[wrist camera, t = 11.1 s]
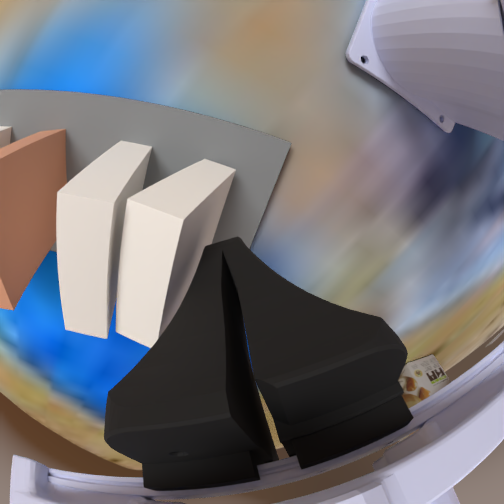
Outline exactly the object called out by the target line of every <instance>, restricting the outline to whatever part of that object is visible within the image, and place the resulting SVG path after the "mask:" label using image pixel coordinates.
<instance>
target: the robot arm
mask: <svg viewBox="0 0 504 504" xmlns="http://www.w3.org/2000/svg"><path fill="white" fill-rule="evenodd" d="M361 57H363V58H364V59H365V63H364V64H363V63H362V62H361ZM346 58H347V59H348V61H349V62H350V63H352V64H354V65H355V66H357V67H359V68H360V69H362V70H364V71H365V72H367V73H368V74H370V75H371V76H373V77H375V78H376V79H378V80H379V81H381V82H382V83H384V84H385V85H386V86H388V87H389V88H391V89H392V90H394V91H395V92H396V93H398V94H399V95H400V96H402V97H403V98H404V99H406V100H407V101H408V102H410V103H411V104H412V105H414V106H415V107H416V108H417V109H419V110H420V111H421V112H422V113H424V114H425V115H426V116H427V117H428V118H429V119H431V120H432V121H433V122H434V123H435V124H436V125H438V126H439V127H440V128H441V129H442V130H443V131H445V132H447V133H450V132H451V131H452V130H453V127H454V124H455V123H458V124H461V125H464V126H467V127H470V128H473V129H475V130H478V131H481V132H483V133H486V134H488V135H491V136H493V137H496V138H498V139H500V140H503V141H504V0H366V2H365V4H364V7H363V10H362V12H361V15H360V17H359V20H358V23H357V25H356V28H355V30H354V33H353V35H352V38H351V40H350V43H349V45H348V48H347V51H346ZM243 319H244V320H243ZM244 323H245V327H244ZM245 329H246V334H247V339H248V344H249V350H250V356H251V362H252V367H253V371H252V367H251V363H250V358H249V354H248V347H247V340H246V334H245ZM407 354H408V353H407V350H406V347H405V346H404V344H403V343H402V341H401V340H400V338H399V337H398V336H397V334H396V333H395V332H394V331H393V330H392V329H391V328H390V327H389V326H388V324H387V323H386V322H385V321H384V320H383V319H382V318H381V317H377V316H373V315H369V314H365V313H361V312H357V311H354V310H350V309H347V308H344V307H341V306H338V305H336V304H333V303H330V302H328V301H326V300H323V299H321V298H319V297H317V296H314V295H312V294H310V293H308V292H306V291H304V290H303V289H301V288H299V287H297V286H296V285H294V284H292V283H291V282H289V281H287V280H286V279H284V278H283V277H281V276H280V275H279V274H277V273H276V272H275V271H273V270H272V269H271V268H269V267H268V266H267V265H266V264H265V263H263V262H262V261H261V260H260V259H259V258H258V257H257V256H256V255H255V254H254V253H253V252H252V251H251V250H250V249H249V248H248V247H247V246H246V245H245V243H244V242H243V241H242V239H241V238H240V237H238V236H237V237H234V238H230V239H227V240H224V241H220V242H217V243H214V244H210V245H207V246H205V248H204V249H203V253H202V256H201V259H200V262H199V264H198V267H197V270H196V272H195V275H194V277H193V279H192V282H191V284H190V286H189V288H188V291H187V293H186V295H185V297H184V299H183V301H182V303H181V305H180V306H179V308H178V310H177V312H176V314H175V315H174V317H173V318H172V320H171V322H170V323H169V325H168V326H167V328H166V329H165V330H164V332H163V333H162V334H161V336H160V337H159V338H158V340H157V341H156V343H155V344H154V345H153V346H152V348H151V349H150V350H149V351H148V352H147V354H146V355H145V356H144V357H143V358H142V359H141V360H140V362H139V363H138V364H137V365H136V366H135V367H134V368H133V369H132V370H131V371H130V372H129V373H128V374H127V375H126V376H125V377H124V378H123V379H122V380H121V381H120V382H119V383H118V384H117V385H115V386H114V387H113V388H112V389H111V390H110V391H109V392H108V397H107V403H106V414H105V430H104V440H105V441H106V443H107V444H108V445H109V446H110V447H111V448H112V449H114V450H116V451H117V452H119V453H121V454H123V455H125V456H127V457H129V458H131V459H133V460H136V461H138V462H140V463H142V469H143V478H133V477H110V476H98V475H89V474H81V473H74V472H67V471H62V470H57V469H51V468H47V467H46V466H45V465H43V464H41V463H39V462H36V461H34V460H32V459H29V458H25V457H21V456H18V455H13V461H12V470H11V485H10V504H185V503H181V502H161V501H155V500H153V499H192V498H206V497H216V496H224V495H232V494H239V493H244V492H250V491H256V490H261V489H265V488H270V487H275V486H279V485H283V484H287V483H291V482H295V481H298V480H301V479H305V478H308V477H311V476H315V475H318V474H321V473H324V472H327V471H329V470H333V469H335V468H338V467H340V466H343V465H346V464H348V463H351V462H353V461H356V460H358V459H360V458H363V457H365V456H367V455H370V454H372V453H374V452H376V451H378V450H380V449H383V448H385V447H386V446H389V445H390V444H393V443H395V442H396V441H398V440H400V439H402V438H404V437H406V436H408V435H409V434H411V433H413V432H414V433H413V434H411V435H410V436H408V437H407V438H405V439H403V440H402V441H400V442H399V443H397V444H395V445H394V446H392V447H390V448H389V449H387V450H385V452H384V455H383V456H382V457H381V458H379V459H378V460H377V461H375V462H374V463H373V468H374V470H375V471H374V472H372V473H369V474H367V475H365V476H362V477H359V478H357V479H354V480H352V481H349V482H346V483H344V484H341V485H338V486H335V487H332V488H330V489H326V490H323V491H320V492H317V493H313V494H310V495H306V496H303V497H299V498H295V499H291V500H287V501H283V502H278V503H274V504H460V502H459V500H458V498H457V495H456V493H455V491H454V489H453V486H454V485H455V484H457V483H458V482H459V481H460V480H462V479H463V478H464V477H465V476H466V475H467V474H468V473H470V472H471V471H472V470H473V469H474V468H475V467H476V466H477V465H479V464H480V463H481V462H482V461H483V460H484V459H485V458H486V457H487V456H488V455H489V454H490V453H491V452H492V451H493V450H494V449H495V448H496V447H497V446H498V445H499V444H500V443H501V441H502V440H503V439H504V341H503V342H502V343H501V344H500V345H499V346H497V348H495V349H494V350H493V351H492V352H490V353H489V354H488V355H487V356H486V357H484V358H483V359H482V360H481V361H480V362H478V363H477V364H476V365H474V366H473V367H472V368H471V369H469V370H468V371H466V372H465V373H464V374H462V375H461V376H459V377H458V378H457V379H455V380H454V381H452V382H451V383H449V384H448V385H446V386H445V387H443V388H442V389H440V390H439V391H437V392H436V393H434V394H432V395H431V396H429V397H428V398H426V399H424V400H423V401H421V402H419V403H417V404H416V405H414V406H412V407H410V408H408V406H407V404H406V402H405V401H404V399H403V397H402V395H403V393H404V390H403V388H402V386H401V385H400V383H399V381H398V379H399V377H400V375H401V372H402V370H403V368H404V365H405V363H406V359H407ZM253 374H254V375H253ZM255 381H256V382H255ZM256 383H257V385H258V387H259V390H260V392H261V394H262V396H263V398H264V400H265V402H266V404H267V407H268V409H269V411H270V413H271V415H272V417H273V420H274V423H275V427H276V430H277V434H278V437H279V440H280V443H282V444H283V446H284V448H285V449H286V451H287V453H288V455H289V458H285V459H281V460H279V458H278V455H277V452H276V449H275V446H274V442H273V439H272V436H271V433H270V430H269V427H268V423H267V420H266V417H265V413H264V410H263V407H262V403H261V400H260V396H259V393H258V389H257V386H256ZM418 429H419V430H418ZM416 430H417V431H416ZM415 431H416V432H415Z"/></svg>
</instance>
